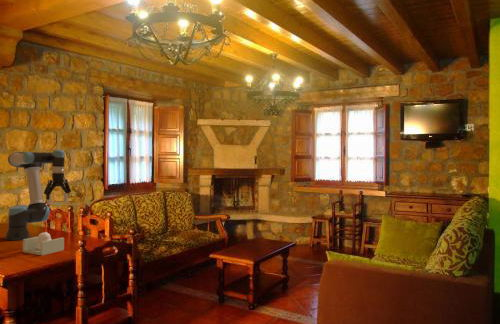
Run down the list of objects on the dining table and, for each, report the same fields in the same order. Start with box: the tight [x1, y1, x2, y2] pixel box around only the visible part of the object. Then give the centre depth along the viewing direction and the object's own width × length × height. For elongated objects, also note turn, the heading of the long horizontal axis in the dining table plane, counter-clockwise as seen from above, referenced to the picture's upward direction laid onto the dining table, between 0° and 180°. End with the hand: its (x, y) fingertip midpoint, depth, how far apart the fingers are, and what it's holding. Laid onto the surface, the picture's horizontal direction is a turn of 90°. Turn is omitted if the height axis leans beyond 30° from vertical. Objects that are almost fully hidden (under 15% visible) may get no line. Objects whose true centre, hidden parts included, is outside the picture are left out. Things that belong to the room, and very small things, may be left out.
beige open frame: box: [22, 236, 65, 256], centre depth 260 cm, size 17×16×8 cm
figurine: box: [35, 231, 53, 251], centre depth 261 cm, size 10×10×12 cm
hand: (57, 203), depth 281 cm, fingers open, 13 cm apart
